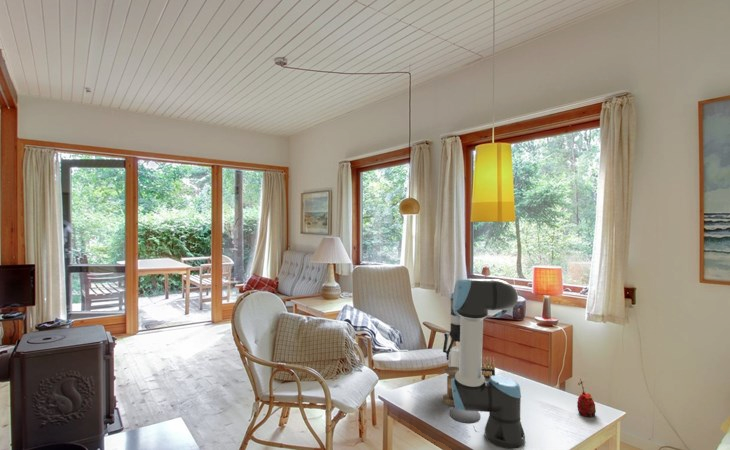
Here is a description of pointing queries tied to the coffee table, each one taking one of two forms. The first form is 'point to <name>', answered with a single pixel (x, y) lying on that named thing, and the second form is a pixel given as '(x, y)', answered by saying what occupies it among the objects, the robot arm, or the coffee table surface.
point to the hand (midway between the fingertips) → (457, 367)
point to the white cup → (455, 356)
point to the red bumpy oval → (586, 404)
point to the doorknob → (449, 396)
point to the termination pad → (465, 415)
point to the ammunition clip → (488, 367)
